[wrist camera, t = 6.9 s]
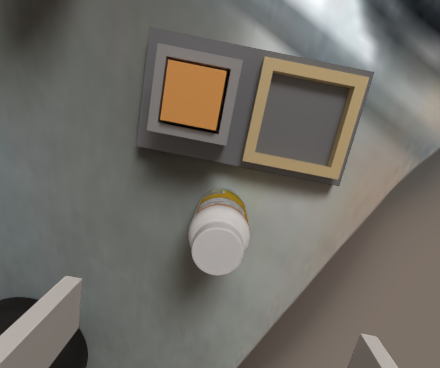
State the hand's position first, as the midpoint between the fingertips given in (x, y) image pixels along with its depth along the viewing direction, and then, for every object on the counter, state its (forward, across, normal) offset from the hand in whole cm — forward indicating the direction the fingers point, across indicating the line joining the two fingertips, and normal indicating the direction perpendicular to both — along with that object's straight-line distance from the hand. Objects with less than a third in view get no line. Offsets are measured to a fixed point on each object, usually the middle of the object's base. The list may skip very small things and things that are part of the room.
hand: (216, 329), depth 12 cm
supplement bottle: (+18, 0, 0) cm, 18 cm away
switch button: (+15, +5, -11) cm, 19 cm away
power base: (+17, 0, -11) cm, 20 cm away
